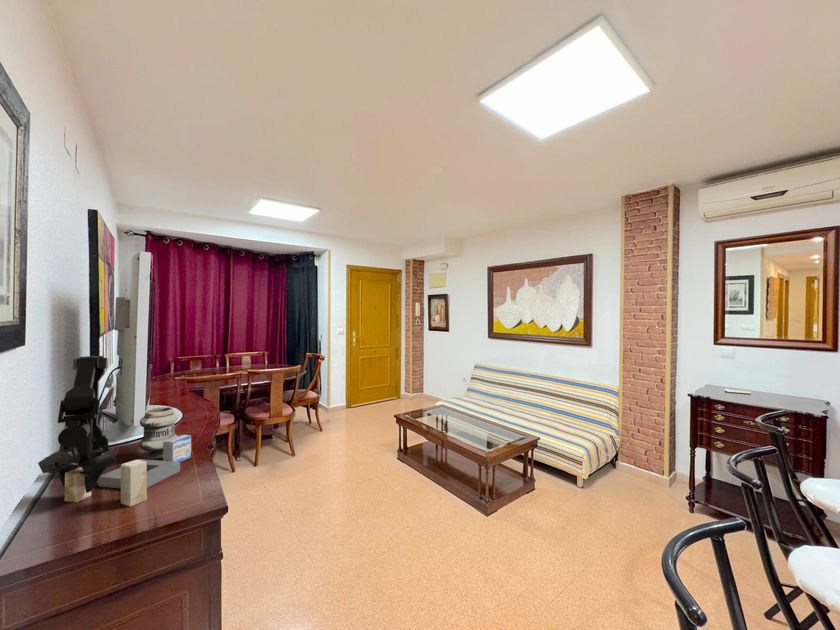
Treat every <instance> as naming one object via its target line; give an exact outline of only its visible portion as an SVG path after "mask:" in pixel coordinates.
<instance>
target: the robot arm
mask: <svg viewBox="0 0 840 630" xmlns="http://www.w3.org/2000/svg"><path fill="white" fill-rule="evenodd" d="M72 361H73V362H72V370H73V371H76V373H75V377H74V383H73V386H72V388H71V389H69V390H68V391H67V392H65V395H64V397H63V400H60V406H59V411H58V416H57V417H58V418H57V423H58V424H63V423H65V425H64V428H63V429H62V430H61V431H60V433H59V434H58V437H57V442H58V443H59V450H58V451H56V452H53V453H52V454H50V455H48V456H46V457H44V458H43V459H42V460H40V461H38V463H37V465H38V466H39V468H40V471H41V473H42V474H50V475H54V474H56V475H57V476H58V478H59V481H60V482H61V485H62V487H63V489H64V490H65V473H67V472H69V471H72V470H75V469H78V468H80V467H82V469H83V471H82V472H79V473H80V474H82V475H83V476H84V478H85V489H86V493H88V492H91V493H92V490H93V489H94V487H95V485H96V483H98V478H99V477H100V476H101V474H102V475H103V472H104V470H106V469H107V468H109V467H111V466H114V465H116V463H115V462H116V461H115V456H114V455H109V454H106V452H109V439H108V438H107V436H106V434H104V429H103V428H102V427H101V426H100V424H99V414H100V413H99V412H100V407H101V406H100V405H101V404H100V403H101V402H100V399H99V398H100V397H99V395H100V380H101V379H102V378H103V377H104V376H105V374H106V369H108V368H109V359H108V357H104V355H91V356H89V355H87V356H80V357H77V358H73V360H72Z"/></svg>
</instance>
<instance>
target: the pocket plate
mask: <svg viewBox="0 0 840 630" xmlns="http://www.w3.org/2000/svg"><path fill="white" fill-rule="evenodd" d="M139 460H142V461H145V462H147V488H150V487H151V486H153V485H156V484H157V483H159V482H162V481H163V480H166V479H168V478H169V477H172V476H173V475H175V474H178V473H179V472H181V463H180V462H170V461H163V460H144V459H142V458H140V459H139ZM97 486H98V487H102V488H113V489H121V467H119V468H115V469H113V470H111V471H109V472H106V473H104V474H102V475H100V477H99V478H98V480H97Z"/></svg>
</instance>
